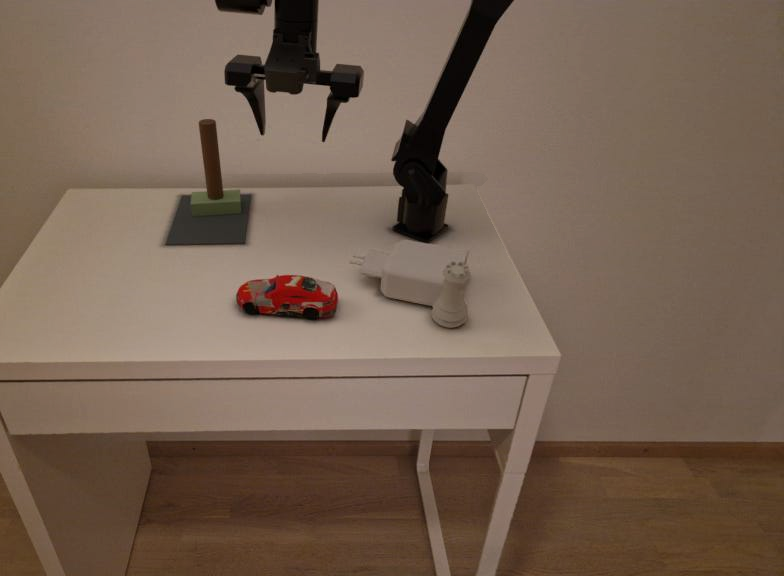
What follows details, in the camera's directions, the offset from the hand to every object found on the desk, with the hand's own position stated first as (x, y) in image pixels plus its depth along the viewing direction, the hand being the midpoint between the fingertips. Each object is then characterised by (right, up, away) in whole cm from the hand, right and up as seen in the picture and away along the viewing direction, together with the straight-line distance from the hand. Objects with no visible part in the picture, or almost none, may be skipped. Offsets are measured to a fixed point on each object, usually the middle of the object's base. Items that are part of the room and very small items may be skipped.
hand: (293, 137), depth 87 cm
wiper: (-13, -8, +11) cm, 19 cm away
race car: (-1, -26, -10) cm, 28 cm away
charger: (+15, -23, -6) cm, 28 cm away
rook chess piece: (+20, -28, -13) cm, 36 cm away
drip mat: (-14, -10, +9) cm, 19 cm away
